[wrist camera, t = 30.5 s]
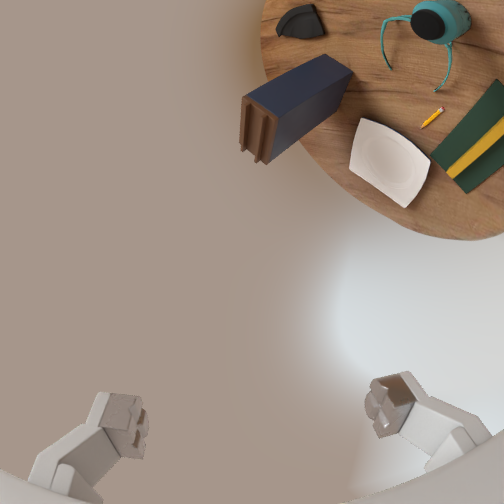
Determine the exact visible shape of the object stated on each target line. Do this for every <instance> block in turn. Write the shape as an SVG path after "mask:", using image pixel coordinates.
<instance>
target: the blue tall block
mask: <svg viewBox="0 0 504 504" xmlns="http://www.w3.org/2000/svg"><path fill="white" fill-rule="evenodd" d="M352 74H353V71H351V70H350V69H348V68H347V67H345V66H344V65H342V64H341V63H339V62H338V61H336V60H334V59H333V58H331V57H329V56H328V55H326V54H323V55H321V56H319V57H317V58H314V59H312V60H310V61H308V62H306V63H304V64H302V65H300V66H298V67H296V68H294V69H292V70H290V71H288V72H286V73H284V74H282V75H280V76H279V77H277V78H275V79H273V80H271V81H269V82H267V83H266V84H264V85H262V86H260V87H259V88H257V89H255V90H253V91H252V92H250V93H248V94H247V95H245V96H243V97H242V104H241V122H240V139H239V143H240V144H241V151H242V152H243V151H245V150H246V149H247V150H248V151H250V152H251V153H252V154H253V155H255V160H254V161H255V163H257V162H259V161H260V160H261V161H262V162H263V163H264V164H266V165H267V164H268V163H269V162H271V161H272V160H273V159H275V158H276V157H277V156H278V155H279V154H281V153H282V152H283V151H285V150H286V149H287V148H289V147H290V146H291V145H292V144H294V143H295V142H296V141H298V140H299V139H300V138H301V137H303V136H304V135H305V134H307V133H308V132H309V131H311V130H312V129H313V128H315V127H316V126H317V125H319V124H320V123H321V122H323V121H324V120H325V119H327V118H328V117H329V116H331V115H332V114H334V113H335V112H336V111H337V109H338V107H339V104H340V102H341V100H342V97H343V95H344V93H345V90H346V88H347V86H348V83H349V81H350V78H351V76H352Z"/></svg>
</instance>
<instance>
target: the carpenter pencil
mask: <svg viewBox="0 0 504 504" xmlns="http://www.w3.org/2000/svg"><path fill="white" fill-rule="evenodd" d="M502 135H504V116H503V117H502V118H501V119H500V120H499V121H498V122H497V123H496V124H495V125H494V126H493V127H492V128H491V129H490V130H489V131H488V132H487V133H486V134H485V135H484V136H483V137H482V138H481V139H480V140H479V141H478V142H477V143H475V144H474V145H473V146H472V147H471V148H470V149H469V150H468V151H467V152H466V153H465V154H464V155H463V156H461V157H460V158H459V159H458V160H457V161H456V162H455V163H454V164H453V165H452V166H450V167H449V169H448V170H447V172H446V173H447V174H448V175H449V176H450V177H451V178H452V179H453V178H454V177H456V176H457V175H458V174H459V173H460V172H462V171H463V170H464V169H465V168H466V167H467V166H469V165H470V164H471V163H472V162H473V161H474V160H476V159H477V158H478V157H479V156H480V155H481V154H482V153H484V152H485V151H486V150H487V149H488V148H489V147H490V146H491V145H493V144H494V143H495V142H496V141H497V140H498V139H499V138H500V137H501V136H502Z"/></svg>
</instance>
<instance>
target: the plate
mask: <svg viewBox="0 0 504 504" xmlns="http://www.w3.org/2000/svg"><path fill="white" fill-rule="evenodd" d="M430 164H431V160H430V159H429V158H428V157H427V156H426V155H425V154H424V153H423V152H422V151H421V150H420V149H419V148H418V147H417V146H416V145H415V144H414V143H413V142H412V141H410V140H409V139H408V138H406V137H405V136H403V135H402V134H400V133H399V132H397V131H395V130H394V129H392V128H390V127H388V126H386V125H384V124H381V123H378V122H376V121H373V120H370V119H367V118H365V117H362V118H361V119H360V122H359V125H358V128H357V131H356V134H355V138H354V141H353V147H352V152H351V159H350V166H349V169H350V170H351V171H352V172H354V173H355V174H357V175H358V176H360V177H361V178H363V179H364V180H366V181H367V182H369V183H370V184H371V185H373V186H374V187H376V188H377V189H379V190H380V191H381V192H383V193H384V194H386V195H387V196H388V197H390V198H391V199H393V200H394V201H395V202H397V203H398V204H399V205H401V206H402V207H403V208H406V207H407V206H408V205H409V203H410V202H411V201H412V200H413V199H414V198H415V197H416V195H417V194H418V192H419V191H420V189H421V188H422V186H423V184H424V182H425V180H426V177H427V174H428V171H429V167H430Z"/></svg>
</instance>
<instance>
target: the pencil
mask: <svg viewBox="0 0 504 504" xmlns="http://www.w3.org/2000/svg"><path fill="white" fill-rule="evenodd" d="M444 110H445V109H444V108H443V107H441V108H440V109H439V110H438V111H436V112H435V113H434V114H433V115H432V116H431V117H430V118H429V119H428V120H427V121H425V122H424V123H423V125H422V126H421V128H423V127H425V126H427V125H428V124H429V123H430V122H431V121H432V120H434V119H435V118H436V117H437V116H438V115H439V114H440V113H441V112H443V111H444ZM421 128H420V129H421Z"/></svg>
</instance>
